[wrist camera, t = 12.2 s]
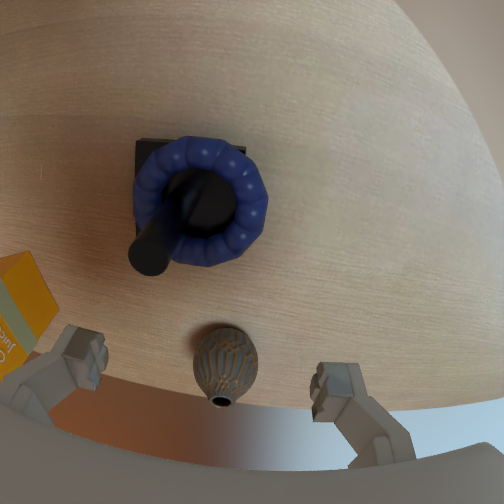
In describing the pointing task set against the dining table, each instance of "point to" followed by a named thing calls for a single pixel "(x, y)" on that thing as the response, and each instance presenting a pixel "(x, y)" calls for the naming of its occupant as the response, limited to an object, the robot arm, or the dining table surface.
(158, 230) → the black post stand
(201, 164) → the ring
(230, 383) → the vase
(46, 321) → the orange juice
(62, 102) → the dining table surface
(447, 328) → the dining table surface
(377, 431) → the robot arm
